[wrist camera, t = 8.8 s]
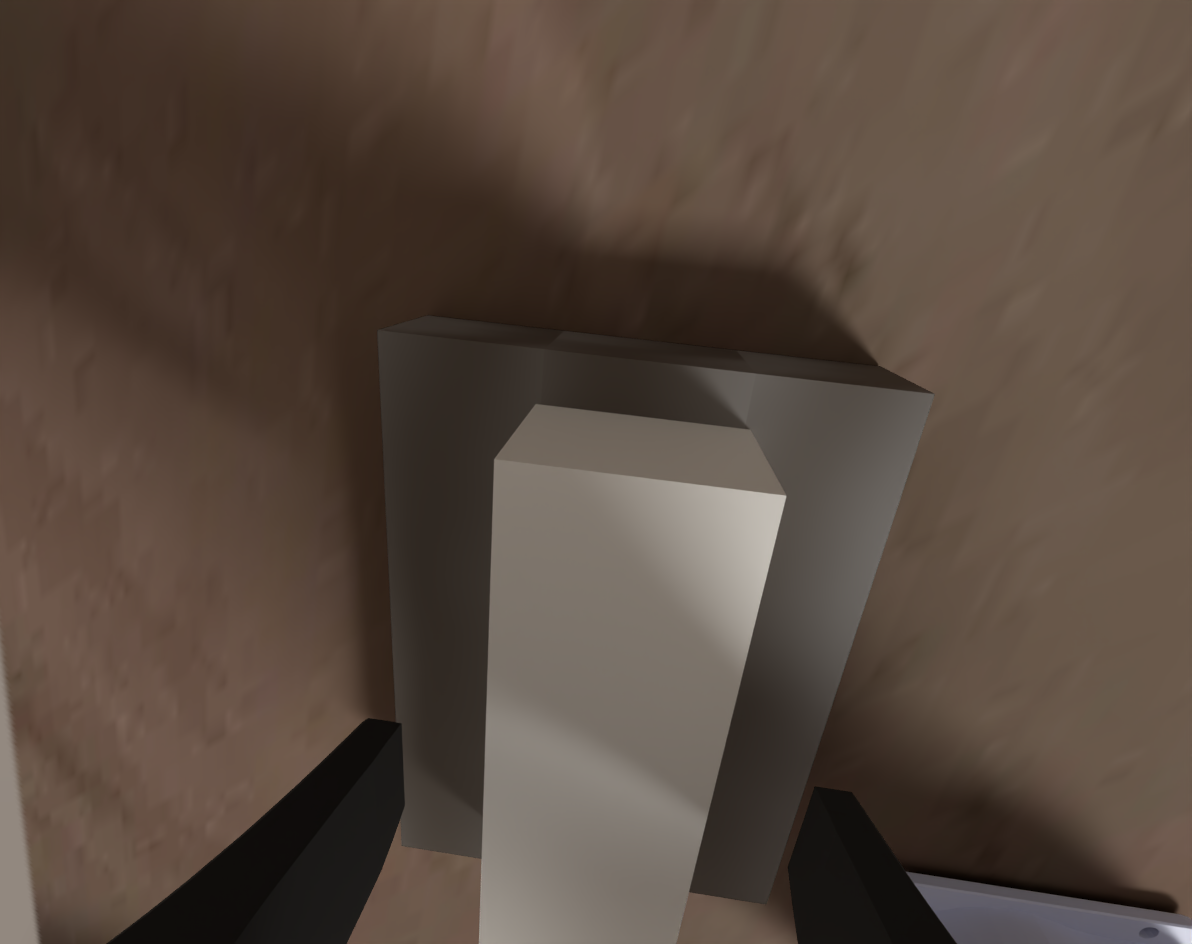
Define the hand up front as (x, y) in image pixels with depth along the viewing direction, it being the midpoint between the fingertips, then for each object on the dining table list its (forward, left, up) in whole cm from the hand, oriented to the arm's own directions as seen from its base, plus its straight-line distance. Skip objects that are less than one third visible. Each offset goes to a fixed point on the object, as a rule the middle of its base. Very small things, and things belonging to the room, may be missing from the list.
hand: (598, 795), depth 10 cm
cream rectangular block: (0, 0, -6) cm, 6 cm away
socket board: (0, 0, -6) cm, 6 cm away
